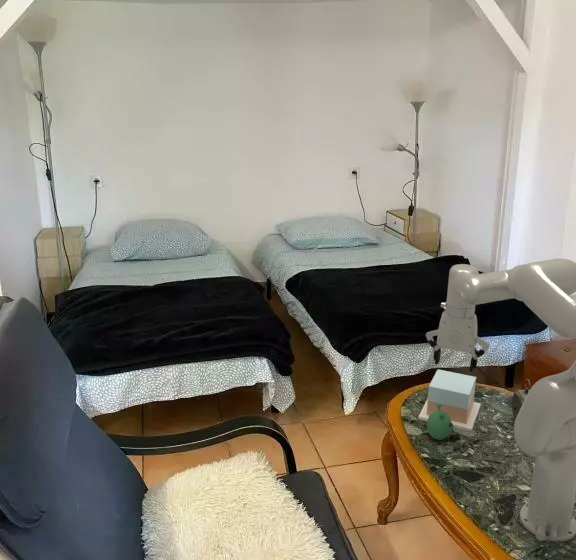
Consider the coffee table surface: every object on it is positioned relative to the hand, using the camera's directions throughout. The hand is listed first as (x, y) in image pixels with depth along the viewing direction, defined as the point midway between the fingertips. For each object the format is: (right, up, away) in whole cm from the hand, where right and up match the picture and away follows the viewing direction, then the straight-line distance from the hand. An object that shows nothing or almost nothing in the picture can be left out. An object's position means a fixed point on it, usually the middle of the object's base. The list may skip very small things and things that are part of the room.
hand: (454, 366), depth 169 cm
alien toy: (-3, -22, +7) cm, 23 cm away
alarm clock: (+23, -20, +12) cm, 33 cm away
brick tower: (+4, -18, +20) cm, 27 cm away
